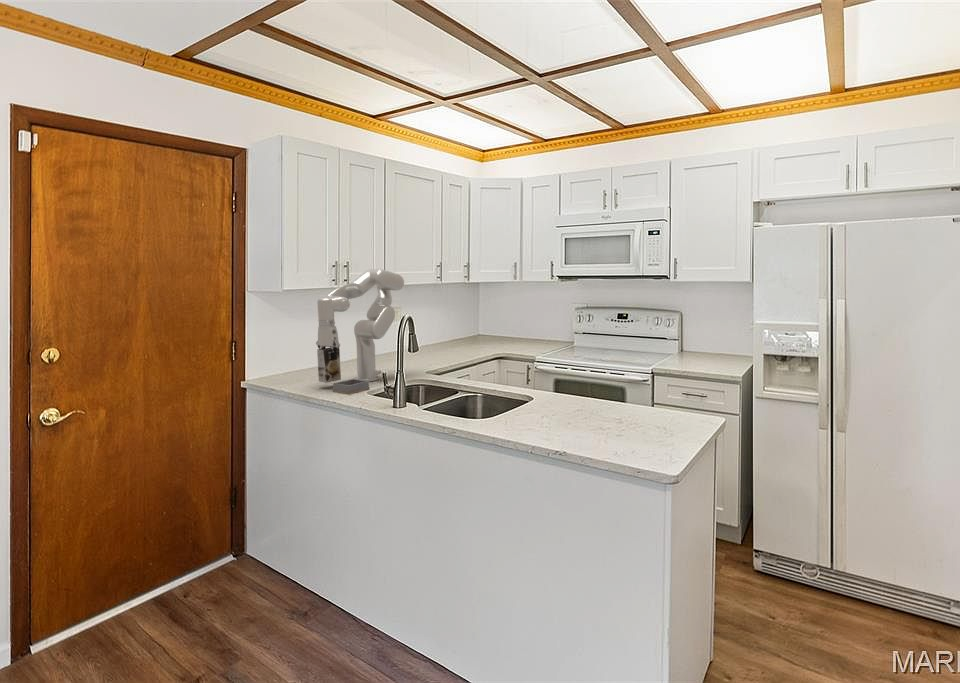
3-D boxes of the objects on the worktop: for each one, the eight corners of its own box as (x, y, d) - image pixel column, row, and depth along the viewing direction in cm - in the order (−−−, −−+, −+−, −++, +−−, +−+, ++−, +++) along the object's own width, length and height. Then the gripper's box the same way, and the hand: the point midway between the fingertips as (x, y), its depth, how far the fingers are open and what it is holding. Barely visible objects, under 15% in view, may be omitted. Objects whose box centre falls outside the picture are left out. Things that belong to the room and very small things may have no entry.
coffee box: (326, 383, 274) (324, 350, 272) (318, 381, 278) (316, 349, 276) (341, 379, 282) (339, 347, 279) (333, 378, 285) (331, 346, 283)
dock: (353, 386, 282) (353, 378, 281) (369, 389, 276) (369, 381, 275) (332, 391, 270) (332, 383, 270) (349, 394, 265) (349, 386, 264)
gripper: (345, 323, 274) (347, 359, 277) (320, 321, 283) (322, 356, 286) (333, 325, 268) (335, 362, 270) (308, 323, 277) (310, 359, 280)
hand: (328, 359), depth 278 cm, fingers closed on coffee box, 6 cm apart
